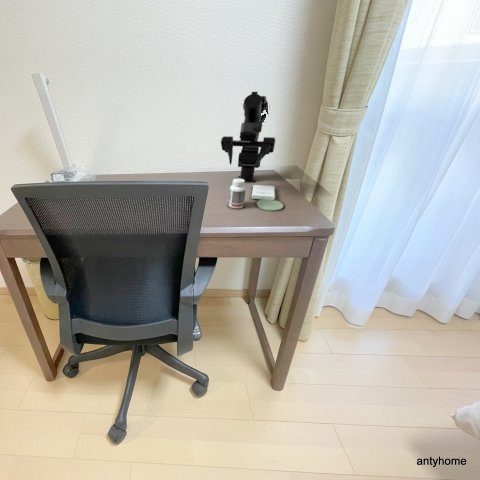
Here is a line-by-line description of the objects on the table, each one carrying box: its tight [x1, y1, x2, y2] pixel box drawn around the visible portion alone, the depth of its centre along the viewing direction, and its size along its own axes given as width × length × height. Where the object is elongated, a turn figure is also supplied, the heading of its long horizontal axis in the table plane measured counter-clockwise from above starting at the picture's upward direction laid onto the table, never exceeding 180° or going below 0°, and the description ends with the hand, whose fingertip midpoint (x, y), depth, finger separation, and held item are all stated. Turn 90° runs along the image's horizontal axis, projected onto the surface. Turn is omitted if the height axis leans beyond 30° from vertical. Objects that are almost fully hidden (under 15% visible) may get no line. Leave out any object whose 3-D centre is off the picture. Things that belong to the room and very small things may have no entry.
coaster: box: [256, 199, 284, 212], centre depth 93 cm, size 9×9×1 cm
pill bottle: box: [228, 177, 247, 209], centre depth 92 cm, size 5×5×10 cm
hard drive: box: [251, 184, 276, 200], centre depth 101 cm, size 2×8×12 cm
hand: (243, 165), depth 93 cm, fingers open, 9 cm apart
